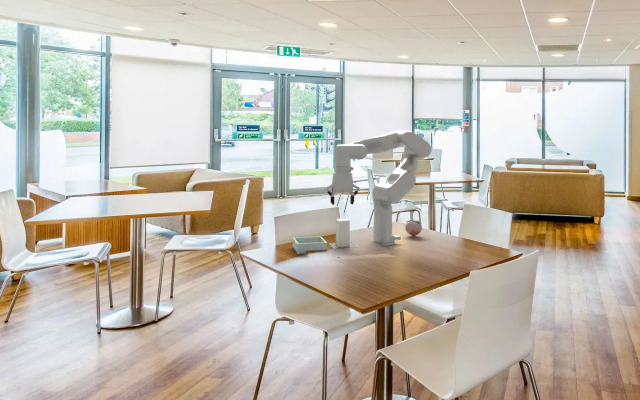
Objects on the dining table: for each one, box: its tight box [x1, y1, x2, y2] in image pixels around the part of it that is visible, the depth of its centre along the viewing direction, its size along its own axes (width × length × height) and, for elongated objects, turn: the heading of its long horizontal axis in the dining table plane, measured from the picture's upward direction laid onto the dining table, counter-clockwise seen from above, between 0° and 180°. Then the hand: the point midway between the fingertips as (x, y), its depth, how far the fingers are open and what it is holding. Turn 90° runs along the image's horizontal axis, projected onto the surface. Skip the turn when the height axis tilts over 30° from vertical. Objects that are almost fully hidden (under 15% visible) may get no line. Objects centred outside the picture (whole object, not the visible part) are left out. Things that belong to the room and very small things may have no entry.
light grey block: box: [335, 218, 351, 247], centre depth 251 cm, size 6×6×13 cm
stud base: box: [328, 241, 358, 250], centre depth 252 cm, size 12×12×5 cm
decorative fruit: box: [404, 219, 423, 237], centre depth 280 cm, size 9×8×10 cm
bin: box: [292, 235, 328, 255], centre depth 248 cm, size 15×15×5 cm
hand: (342, 204), depth 249 cm, fingers open, 9 cm apart
